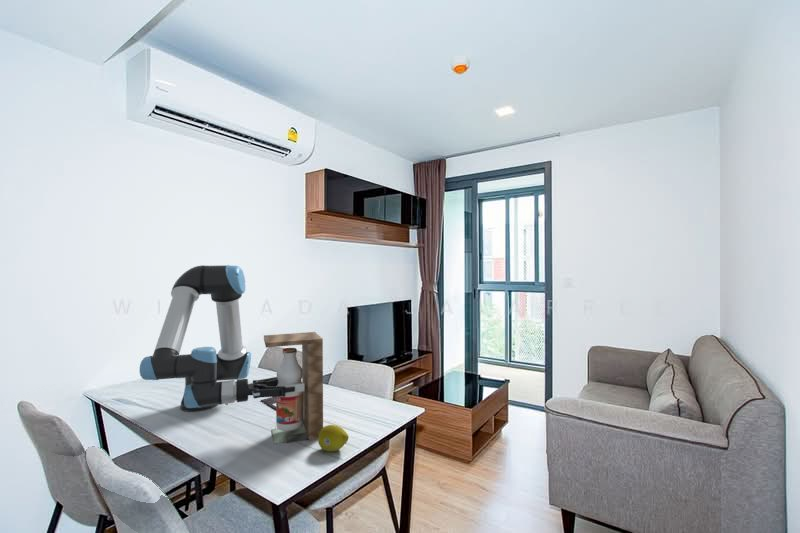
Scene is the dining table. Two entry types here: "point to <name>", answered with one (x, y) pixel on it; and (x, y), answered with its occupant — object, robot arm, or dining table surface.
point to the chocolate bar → (270, 402)
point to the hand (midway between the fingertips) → (302, 383)
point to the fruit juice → (291, 403)
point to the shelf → (312, 384)
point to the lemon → (332, 438)
